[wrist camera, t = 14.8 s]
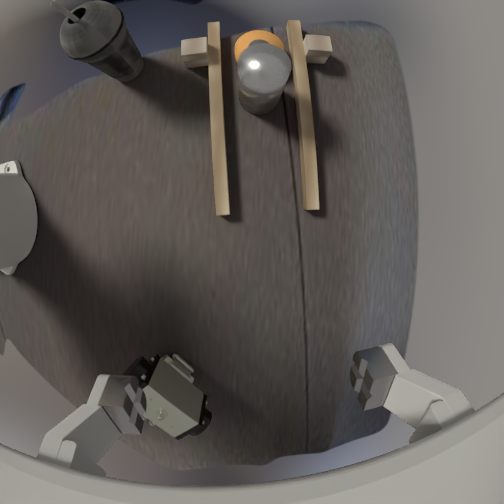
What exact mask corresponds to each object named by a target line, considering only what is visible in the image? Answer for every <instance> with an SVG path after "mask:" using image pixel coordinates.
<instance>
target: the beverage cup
mask: <svg viewBox="0 0 504 504" xmlns="http://www.w3.org/2000/svg"><path fill="white" fill-rule="evenodd" d="M51 6H53V7H54V8H56V9H57V10H59V11H60V12H61V13H63V14H64V15H66V16H67V17H66V18H65V20H64V22H63V24H62V26H61V30H60V43H61V46H62V47H63V49H64V50H65V52H66V53H67V55H68V56H69V57H70V58H72V59H74V60H79V61H82V62H85V63H88V64H90V65H92V66H94V67H95V68H97V69H99V70H101V71H102V72H104V73H106V74H107V75H109V76H111V77H113V78H115V79H117V80H119V81H121V82H127V81H130V80H132V79H134V78H136V77H137V76H138V75H139V74H140V73H141V71H142V69H143V66H144V62H143V59H142V57H141V54H140V52H139V50H138V48H137V47H136V45H135V43H134V41H133V39H132V37H131V35H130V33H129V31H128V30H127V28H126V24H125V21H124V16H123V12H122V11H121V10H120V9H118V8H117V7H115V6H114V5H113V4H111V3H108V2H104V1H91V2H87V3H84V4H82V5H80V6H78V7H76V8H75V9H74V10H72V11H71V12H70V11H68V10H67V9H66V8H64V7H63V6H61V5H60V4H59V3H57V2H56V1H55V0H54V1H52V2H51Z"/></svg>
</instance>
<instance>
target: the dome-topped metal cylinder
mask: <svg viewBox="0 0 504 504" xmlns="http://www.w3.org/2000/svg"><path fill="white" fill-rule="evenodd" d="M237 67H238V88H239V101H240V104H241V105H242V107H243V108H244V109H245V110H246V111H248V112H249V113H252V114H256V115H263V114H267V113H269V112H271V111H273V110H274V109H275V108H276V106H277V104H278V102H279V100H280V97H281V94H282V92H283V90H284V87H285V85H286V82H287V80H288V77H289V75H290V72H291V60H290V58H289V56H288V55H287V53H286V52H285V51H284V50H282V49H281V48H279V47H277V46H275V45H272V44H267V43H259V44H254V45H252V46H249V47H248V48H246V49H245V50H244V51H243V52H242V53H241V54H240V56H239V58H238V62H237Z"/></svg>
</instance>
